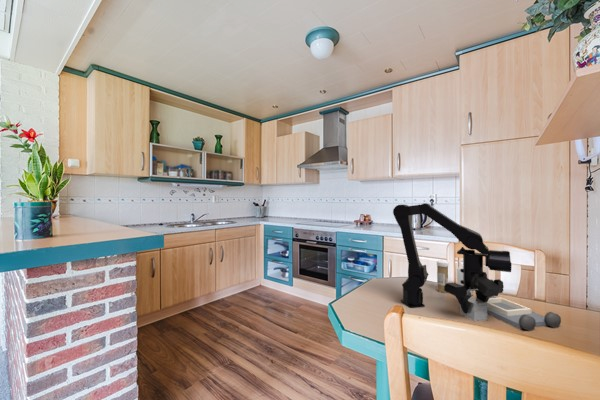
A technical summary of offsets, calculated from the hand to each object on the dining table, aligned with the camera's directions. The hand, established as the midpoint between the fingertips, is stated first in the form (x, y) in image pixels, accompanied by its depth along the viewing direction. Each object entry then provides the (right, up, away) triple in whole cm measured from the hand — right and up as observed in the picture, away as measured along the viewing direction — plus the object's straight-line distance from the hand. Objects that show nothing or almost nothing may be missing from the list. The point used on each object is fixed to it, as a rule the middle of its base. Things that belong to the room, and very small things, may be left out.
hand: (473, 312), depth 89 cm
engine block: (0, -2, 0) cm, 2 cm away
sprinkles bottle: (+3, -2, +25) cm, 25 cm away
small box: (+14, -2, +25) cm, 28 cm away
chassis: (+14, -2, +4) cm, 14 cm away
